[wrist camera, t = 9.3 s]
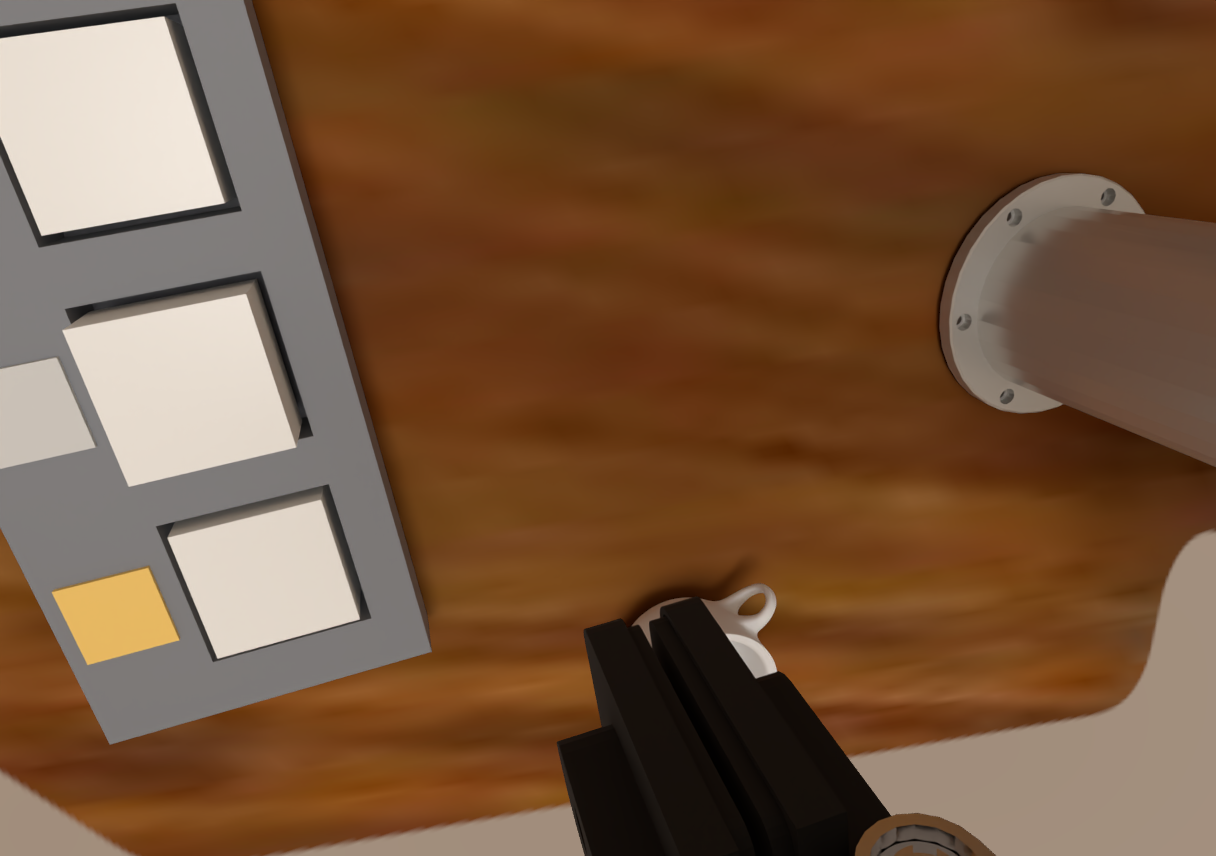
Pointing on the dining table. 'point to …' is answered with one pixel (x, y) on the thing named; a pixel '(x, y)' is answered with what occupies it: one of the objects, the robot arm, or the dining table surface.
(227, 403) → the middle button
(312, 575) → the end button
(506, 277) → the dining table surface
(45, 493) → the button panel
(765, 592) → the teacup
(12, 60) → the end button
